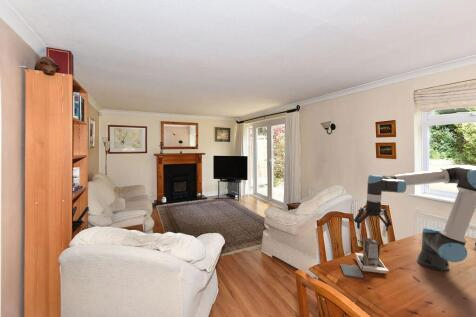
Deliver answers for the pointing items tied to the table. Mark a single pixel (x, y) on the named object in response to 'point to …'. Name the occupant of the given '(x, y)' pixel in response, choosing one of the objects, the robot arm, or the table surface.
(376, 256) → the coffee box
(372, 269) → the white flat frame piece
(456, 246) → the robot arm
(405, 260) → the table surface
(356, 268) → the plate
